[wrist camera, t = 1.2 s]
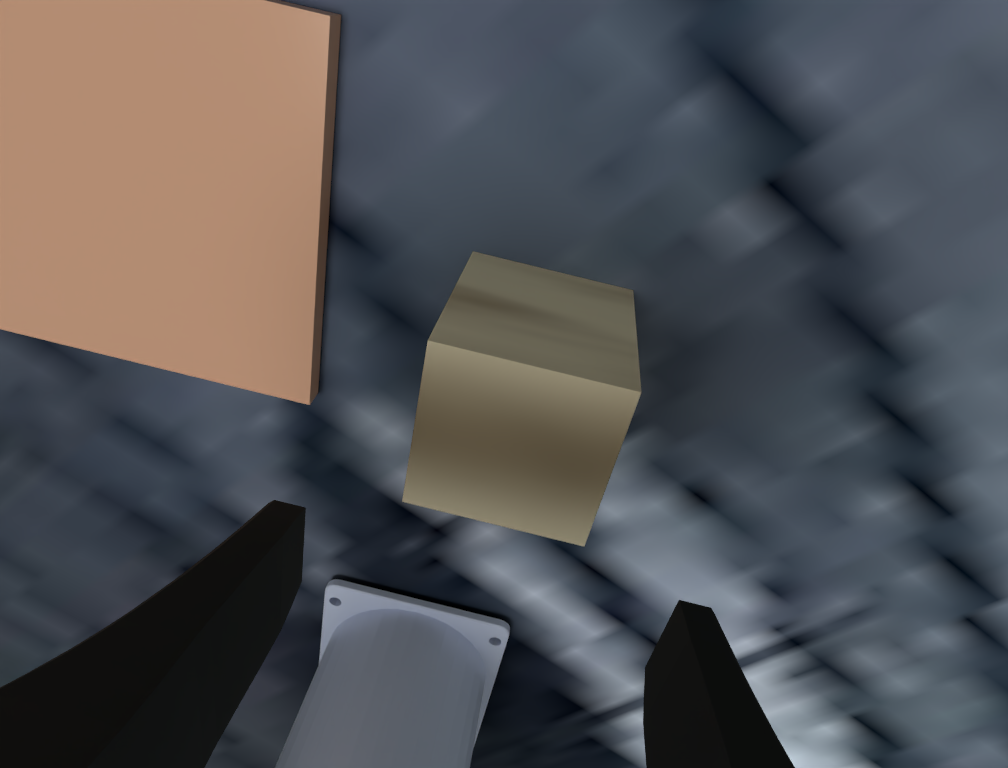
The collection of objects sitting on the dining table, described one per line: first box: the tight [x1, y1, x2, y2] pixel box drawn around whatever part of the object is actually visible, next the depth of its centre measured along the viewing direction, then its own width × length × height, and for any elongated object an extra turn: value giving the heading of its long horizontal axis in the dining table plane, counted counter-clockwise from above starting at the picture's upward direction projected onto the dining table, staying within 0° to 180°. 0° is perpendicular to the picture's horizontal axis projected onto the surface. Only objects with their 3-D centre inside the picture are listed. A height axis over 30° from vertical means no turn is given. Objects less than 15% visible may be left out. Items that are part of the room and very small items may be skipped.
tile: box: [0, 0, 341, 405], centre depth 20 cm, size 12×12×1 cm
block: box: [402, 251, 641, 546], centre depth 19 cm, size 5×5×6 cm
